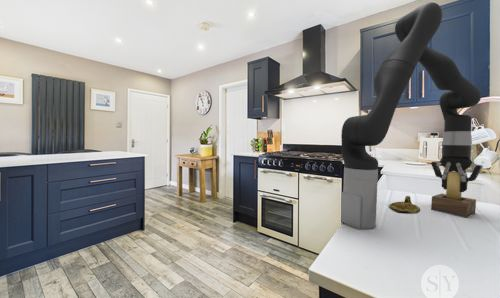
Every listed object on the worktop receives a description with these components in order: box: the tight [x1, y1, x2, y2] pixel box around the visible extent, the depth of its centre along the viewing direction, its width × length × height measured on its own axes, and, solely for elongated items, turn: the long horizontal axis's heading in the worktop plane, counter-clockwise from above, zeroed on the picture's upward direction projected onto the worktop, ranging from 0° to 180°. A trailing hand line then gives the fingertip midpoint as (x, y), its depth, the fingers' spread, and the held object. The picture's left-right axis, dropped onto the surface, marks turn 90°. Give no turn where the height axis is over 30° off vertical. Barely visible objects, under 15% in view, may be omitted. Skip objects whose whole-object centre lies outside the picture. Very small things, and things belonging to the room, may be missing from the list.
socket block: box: [430, 193, 477, 219], centre depth 77 cm, size 10×10×5 cm
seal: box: [388, 195, 421, 215], centre depth 80 cm, size 9×5×15 cm
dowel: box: [445, 171, 462, 201], centre depth 77 cm, size 4×4×10 cm
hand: (453, 190), depth 77 cm, fingers closed on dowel, 4 cm apart
